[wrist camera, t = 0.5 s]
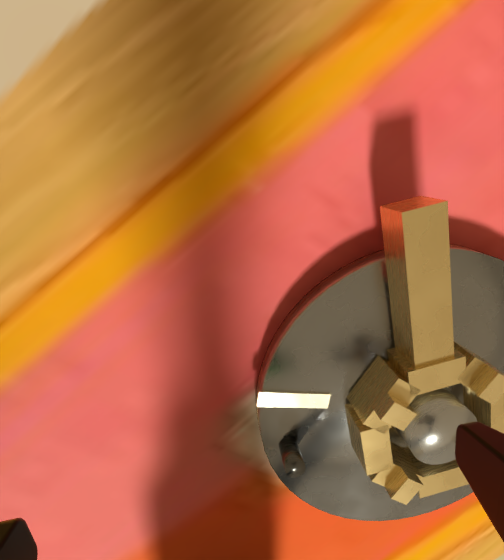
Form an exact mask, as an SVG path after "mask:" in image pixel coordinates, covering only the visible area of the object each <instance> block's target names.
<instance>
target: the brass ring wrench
mask: <svg viewBox="0 0 504 560" xmlns="http://www.w3.org/2000/svg"><path fill="white" fill-rule="evenodd" d="M380 213H381V223H382V232H383V242H384V251H385V260H386V270H387V279H388V289H389V298H390V307H391V317H392V326H393V336H394V345H395V348H391V349H387V357H388V360H386V359H384V358H383V357H381V356H379V355H378V356H377V358H376V359H375V360H374V362H373V363H372V364H371V366H370V367H369V368H368V369H367V371H366V372H365V373H364V375H363V376H362V377H361V379H360V380H359V381H358V383H357V384H356V385H355V387H354V388H353V389H352V390H351V392H350V393H349V394H348V396H347V398H348V400H349V402H350V403H349V404H345V411H346V417H347V423H348V428H349V434H350V440H351V445H352V447H353V449H354V451H355V453H356V455H357V457H358V459H359V461H360V463H361V465H362V467H363V469H364V471H365V473H366V474H367V476H368V475H369V477H370V479H371V481H372V482H374V483H377V484H379V485H381V486H384V487H385V489H386V490H387V492H388V494H389V496H390V498H391V499H393V500H395V501H398V502H400V503H403V504H405V505H407V504H408V503H409V501H410V500H411V499H412V498H413V497H414V496H415V495H416V493H417V495H418V496H419V498H423V497H427V496H430V495H434V494H437V493H440V492H444V491H447V490H451V489H454V488H457V487H461V486H464V485H468V484H469V483H468V482H467V480H466V478H465V476H464V475H463V473H462V471H461V470H460V468H459V466H458V464H457V462H456V459H455V460H453V461H450V462H448V463H444V464H438V465H431V464H426V463H423V462H421V461H419V460H418V459H417V458H416V457H415V456H414V455H413V453H412V452H411V450H410V449H409V447H408V446H407V447H401V446H399V445H397V444H395V443H393V442H391V441H390V435H389V429H390V427H391V426H394V427H396V428H398V429H400V430H402V431H404V430H405V428H406V427H407V426H408V425H409V424H410V422H411V421H412V420H413V419H414V418H415V416H416V415H417V413H416V412H415V411H414V409H413V408H412V407H411V406H410V405H409V404H410V403H411V402H412V400H413V399H414V398H415V397H416V396H417V395H420V394H423V393H427V392H431V391H434V390H438V389H441V388H445V387H448V386H452V385H456V384H459V383H461V384H463V404H464V405H465V406H466V407H467V408H468V409H469V410H470V411H471V412H472V413H473V414H474V415H475V417H476V419H477V422H480V423H482V424H485V425H487V426H489V427H491V428H493V429H495V430H497V431H499V432H502V433H504V373H502V372H501V371H500V370H498V369H497V368H495V367H494V366H493V365H491V364H490V363H489V362H487V361H486V360H484V359H483V358H481V357H480V356H478V355H476V354H475V353H473V352H472V351H470V350H468V349H467V348H465V347H463V346H462V345H460V344H459V343H457V342H455V341H454V338H453V315H452V292H451V269H450V246H449V223H448V201H446V200H440V199H435V198H430V197H425V196H418V197H414V198H410V199H406V200H402V201H398V202H394V203H390V204H386V205H382V206H380Z"/></svg>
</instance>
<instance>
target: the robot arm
mask: <svg viewBox="0 0 504 560" xmlns="http://www.w3.org/2000/svg"><path fill="white" fill-rule="evenodd" d="M455 458H456V462H457V464H458V466H459V468H460V470H461V471H462V473H463V475H464V476H465V478H466V480H467V482H468V483H469V485H470V487H471V488H472V490H473V492H474V493H475V495H476V497H477V498H478V500H479V502H480V504H481V505H482V507H483V509H484V510H485V512H486V514H487V515H488V517H489V519H490V520H491V522H492V524H493V525H494V527H495V529H496V530H497V532H498V534H499V535H500V537H501V538H502V540H503V542H504V433H502V432H499V431H497V430H495V429H493V428H491V427H489V426H487V425H485V424H482V423H480V422H469V423H464V424H460V425H458V427H457V429H456V442H455ZM0 560H37V546H36V543H35V541H34V539H33V537H32V535H31V532H30V530H29V528H28V526H27V524H26V522H25V520H23V519H22V518H16V519H11V520H6V521H2V522H0Z"/></svg>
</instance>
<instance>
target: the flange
mask: <svg viewBox="0 0 504 560" xmlns="http://www.w3.org/2000/svg"><path fill="white" fill-rule="evenodd" d="M449 246H450V269H451V292H452V315H453V338H454V341H455V342H457V343H459V344H460V345H462V346H463V347H465V348H467V349H468V350H470V351H472V352H473V353H475V354H476V355H478V356H480V357H481V358H483V359H484V360H486V361H487V362H489V363H490V364H491V365H493V366H494V367H495V368H497V369H498V370H500V371H501V372H502V373H504V261H503V260H501V259H498V258H495V257H492V256H489V255H486V254H484V253H481V252H478V251H475V250H472V249H469V248H466V247H462V246H456V245H451V244H449ZM391 348H395V345H394V336H393V326H392V317H391V307H390V298H389V289H388V279H387V270H386V260H385V251H384V250H381V251H379V252H376V253H373V254H370V255H368V256H365V257H362V258H360V259H358V260H356V261H354V262H352V263H350V264H348V265H347V266H345V267H343V268H341V269H339V270H338V271H336V272H335V273H333V274H332V275H330V276H329V277H327V278H326V279H324V280H323V281H322V282H320V283H319V284H318V285H317V286H316V287H315V288H313V289H312V290H311V291H310V292H309V293H308V294H307V295H305V296H304V297H303V299H302V300H301V301H300V302H299V303H298V304H297V305H296V306H295V307H294V308H293V310H292V311H291V312H290V313H289V314H288V316H287V317H286V319H285V320H284V321H283V323H282V324H281V326H280V327H279V328H278V330H277V332H276V334H275V336H274V338H273V339H272V341H271V343H270V345H269V347H268V349H267V352H266V355H265V357H264V360H263V363H262V365H261V369H260V374H259V378H258V383H257V394H256V408H257V419H258V424H259V428H260V433H261V437H262V441H263V445H264V449H265V452H266V455H267V457H268V459H269V462H270V464H271V466H272V468H273V469H274V471H275V472H276V474H277V475H278V477H279V478H280V480H281V481H282V482H283V483H284V484H285V485H286V486H287V487H288V488H289V490H290V491H292V492H293V493H294V494H295V495H297V496H298V497H299V498H300V499H302V500H303V501H305V502H306V503H308V504H310V505H312V506H313V507H315V508H317V509H320V510H322V511H325V512H327V513H329V514H332V515H336V516H340V517H344V518H349V519H356V520H366V521H384V520H397V519H402V518H408V517H413V516H417V515H421V514H424V513H428V512H431V511H434V510H437V509H439V508H442V507H444V506H447V505H449V504H451V503H453V502H455V501H458V500H460V499H462V498H464V497H465V496H467V495H469V494H470V493H472V492H473V490H472V488H471V487H470V485H469V484H468V485H464V486H461V487H457V488H454V489H451V490H447V491H444V492H440V493H437V494H434V495H430V496H427V497H423V498H419V496H418V495H417V493H416V495H415V496H414V497H413V498H412V499H411V500H410V501H409V503H408V504H407V505H405V504H403V503H400V502H398V501H395V500H393V499H391V498H390V496H389V494H388V492H387V490H386V489H385V487H384V486H381V485H379V484H377V483H374V482H372V481H371V479H370V477H369V475H368V476H367V474H366V473H365V471H364V469H363V467H362V465H361V463H360V461H359V459H358V457H357V455H356V453H355V451H354V449H353V447H352V445H351V440H350V434H349V428H348V423H347V417H346V411H345V404H349V403H350V402H349V400H348V398H347V396H348V394H349V393H350V392H351V390H352V389H353V388H354V387H355V385H356V384H357V383H358V381H359V380H360V379H361V377H362V376H363V375H364V373H365V372H366V371H367V369H368V368H369V367H370V366H371V364H372V363H373V362H374V360H375V359H376V358H377V356H378V355H379V356H381V357H383V358H384V359H386V360H388V357H387V349H391ZM409 405H410V406H411V407H412V408H413V409H414V411H415V412H416V413H417V415H416V416H415V418H414V419H413V420H412V421H411V422H410V424H409V425H408V426H407V427H406V428H405V430H404V431H402V430H400V429H398V428H396V427H394V426H391V427H390V429H389V435H390V441H391V442H393V443H395V444H397V445H399V446H401V447H407V446H408V447H409V449H410V450H411V452H412V453H413V455H414V456H415V457H416V458H417V459H418V460H419V461H421V462H423V463H426V464H431V465H438V464H444V463H448V462H450V461H453V460H455V459H456V458H455V442H456V429H457V427H458V425H460V424H464V423H469V422H477V419H476V417H475V415H474V414H473V413H472V412H471V411H470V410H469V409H468V408H467V407H466V406H465V405H464V404H463V384H461V383H459V384H456V385H452V386H448V387H445V388H441V389H438V390H434V391H431V392H427V393H423V394H420V395H417V396H416V397H415V398H414V399H413V400H412V402H411V403H410V404H409Z"/></svg>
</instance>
